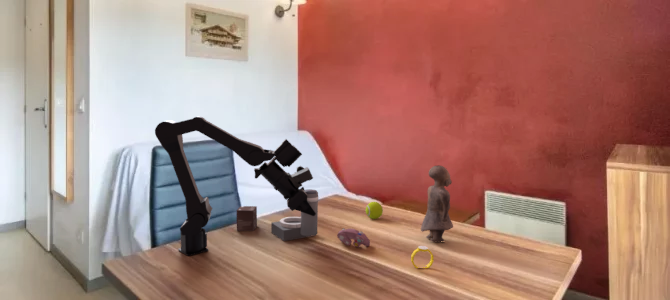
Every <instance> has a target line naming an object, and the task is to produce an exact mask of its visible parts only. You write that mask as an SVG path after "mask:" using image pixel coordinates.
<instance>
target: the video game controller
mask: <svg viewBox="0 0 670 300" xmlns="http://www.w3.org/2000/svg"><path fill="white" fill-rule="evenodd" d="M336 235H337V238H338V240H340V242H341V243H344V245H345V246H350V245H351V244H352V245H353V247H355V248H359V247H360V246H364V247H369V246H370V245H371V240H370V239H369V237H368V236H367V235H366V234H365V233H364V232H363V231H362V230H361V231H360V230H357V229H355V228H342V229H341V230H339V231H338V233H337V234H336ZM353 240H354V241H353Z"/></svg>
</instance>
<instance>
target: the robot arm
mask: <svg viewBox="0 0 670 300" xmlns="http://www.w3.org/2000/svg"><path fill="white" fill-rule="evenodd" d="M193 132H199V133H200V134H202V135H204V136H206V137H208V138H210V139H211V140H213V141H214V142H216V143H219V145H222V146H224V147H225V148H227V149H229V150H231V151H233V152H234V153H235V154H236V155H237V156H238V157H240V158H241V159H242V160H243V161H244V162H245V163H247V164H248V165H250V166H252V167H257V166H259V167H258V168H254V169H253V171H254V179H258V178H259V177H260V176H262V177H263V178H264V179H265V180H266V181H267V182H268V183H269V184H270V185H271V186H272V187H273V189H274V190H275V191H276V192H277V191H278V193H280V195H282V196H283V199H284V200H285V201H286V205H287V208H288V209H289V210H290V211H291V212H294V211H298V212H300V213H301V212H303V213H306V214H309V215H312V216H315V215H316V213H315V211H314V210H313V208H312V207H311V206H310V204H309V203H308V201H307V197H308V195H307V193H306V192H305V191H304V190H305V188H304V187H305V186H303V183H306V182H308V181H312V180H313V179H314V177H313V174H312V172H311V170H310V168H309V167H308V166H306V167H303V166H302V165H300V166H297V167H296V171H295V172H294V173H292V174H290V172H286V170H285V169H283V168H285V167H289V168H290V167H291V166H292V165H293V164H294V163H295V162H296V161H297V160H298V159H299V158H300V157H301V156H302V155H303V154H302V152H301V151H299V149H298V148H297V147H296V146H295V145H294V144H292V143H291V142H290V140H288V139H287V138H285V139H284V140H283V141H282V142H281V144H280V145H279V146H278V147H277V148H276V149H275V150H272V149H264V148H263V147H262V146H260V145H258V144H256V143H253V142H250V141H246V140H243V139H241V138H239V137H237V136H235V135H233V134H231V133H229V132H228V131H226V130H224V129H222V128H221V127H219V126H217V125H215V124H213V122H210V121H209V120H207V119H206V118H205V117H202V116H195V117H192V118H190V119H186V120H182V121H178V122H177V121H175V120H164V121H161V122H159V123H158V124H157V125H156V127H155V129H154V134H155V137H156V138H157V140H158V141H159V143H160V145H161V146H162V148H163V149H164V151H165V152H166V153H167V154H168V156H169V158H170V161H171V165H172V166H173V167H172V168H173V169H174V172H175V176H176V178H177V181H178V183H179V186H180V188H181V191H182V194H183V197H184V199H185V213H186V219H185V220H184V222H182V225H180V228H179V232H180V248H178V251H179V252H180V253H182V254H184V255H186V256H188V257H189V256H193V255H198V254H202V253H206V252H208V251H209V248H207V247H208V234H207V233H206V229H205V227H206V226H207V225H208V222H209V221H210V218H211V216H212V210H213V207H212V206H211V205H210V204H211V203H210V200H209V196H206V197H203V196H202V195H201V193H200V191H199V189H198V186H197V183H196V180H195V177H194V174H193V172H192V170H191V167H190V164H189V160H188V158H187V156H186V153H185V149H184V140H183V139H184V138H183V135H185V134H189V133H193ZM268 161H269V162H268ZM276 161H277V162H276ZM278 163H279V164H280V165H279V164H278ZM281 166H282V167H283V168H282V167H281Z"/></svg>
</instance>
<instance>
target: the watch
mask: <svg viewBox="0 0 670 300" xmlns="http://www.w3.org/2000/svg"><path fill="white" fill-rule="evenodd" d="M419 252H422V253H423V252H428V253H429V255H430V261H429V262H428V263H427V264H426V265H425V266H427V267H425V268H428V269H430V268H431V267H432V266H433V263H434V261H435V260H434V259H435V258H434V255H433V252H432V251H431V250H430V249H429V247H427V246H425V245H418V246H417V248H416V249H414V250H413V252H412V253H411V256H410V261H411V263H412V265H413V267H414V268H415V269H417V268H418V267H417V266H418V265H416V264H415V262H414V259H415V256H416V255H417V253H419ZM423 268H424V267H423Z"/></svg>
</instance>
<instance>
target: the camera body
mask: <svg viewBox="0 0 670 300" xmlns="http://www.w3.org/2000/svg"><path fill="white" fill-rule="evenodd" d="M270 225H271V227H270V229H271V232H270V233H272V234H273V235H274V236H276V237H277V238H278V239H280V240H282V241H283V242H286V241H292V240H297V239H302V238H308V237H309V238H310V237H311V236H304V235H301V216H287V217H282V218H280V220H279V221H272V222H271V224H270ZM315 236H316V235H314V236H313V237H315Z"/></svg>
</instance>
